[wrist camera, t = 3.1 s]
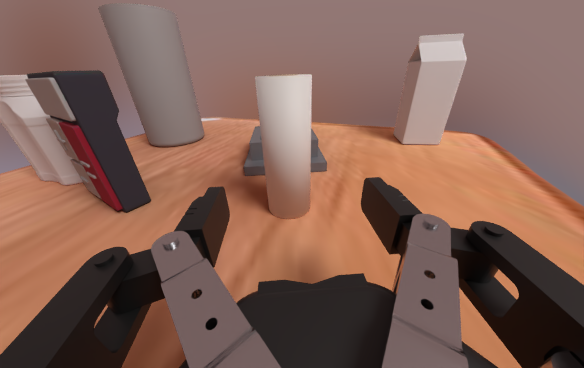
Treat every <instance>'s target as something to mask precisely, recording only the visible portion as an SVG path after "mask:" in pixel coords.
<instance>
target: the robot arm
mask: <svg viewBox="0 0 584 368" xmlns="http://www.w3.org/2000/svg"><path fill="white" fill-rule="evenodd" d="M361 208H362V211H363V213H364V214H365V216H366V217H367V219H368V221H369V222H370V224H371V226H372V227H373V229H374V230H375V232H376V234H377V235H378V237H379V239H380V240H381V242H382V243H383V245H384V247H385V248H386V250H387V251H388V253H389V254H400V256H401V257H400V260H399V264H398V268H397V272H396V276H395V280H394V284H393V288H392V291H391V290H389V289H387V288H385V287H382V286H380V285H377V284H374V283H370V282H367V281H366V279H365V276H364V274H363V273H362V274H350V275H338V276H335V277H332V278H329V279H326V280H323V281H320V282H318V283H314V284H308V283H302V282H295V281H289V280H277V281H265V282H259V284H258V291H256V292H253V293H251V294H249V295H247V296H246V297H244V298H242V299H241V300H239V301H238V302H237V303H236V302H235V301H234V299H233V298H232V296H231V295H230V293H229V292H228V290H227V289H226V287H225V286H224V284H223V282H222V281H221V279H220V278H219V276H218V275H217V273H216V272H215V270H214V269H213V268H214V267H215V264H216V260H217V257H218V254H219V251H220V248H221V244H222V241H223V238H224V235H225V232H226V228H227V225H228V222H229V217H230V213H229V207H228V202H227V198H226V193H225V189H224V187H209V188H208V189H207V191H206V193H205V195H204V196H203V197H199V198H197V199H196V200H195V201H193V202H192V204H191V205H190V207H189V208H188V210H187V211H186V213H185V215H184V216H183V218H182V219H181V221H180V222H179V224H178V226H177V227H176V229H175V230H174V232H170V233H168V234H165V235H163V236H162V237H160V238H159V239H157V240H156V241H155V242H154V244H153V245H152V247H151V249H149V250H145V251H142V252H138V253H135V254H131V255H130V254H129V252H128V251H127V249H126V248H124V247H113V248H109V249H107V250H104V251H102V252H100V253H98V254H96V255H94V256H93V257H91V258H90V259H89V260H88V261H87V262H86V263H85V264H84V265H83V266H82V267H81V268H80V269H79V270H78V271H77V272H76V273H75V274H74V275H73V277H72V278H71V279H70V280H69V281H68V282H67V283H66V284H65V285H64V286H63V287H62V288H61V290H60V291H59V292H58V293H57V294H56V295H55V296H54V297H53V298H52V299H51V300H50V302H49V303H48V304H47V305H46V306H45V307H44V308H43V309H42V310H41V311H40V312H39V313H38V315H37V316H36V317H35V318H34V319H33V320H32V321H31V322H30V323H29V324H28V325H27V327H26V328H25V329H24V330H23V331H22V332H21V333H20V334H19V335H18V336H17V337H16V338H15V340H14V341H13V342H12V343H11V344H10V345H9V346H8V347H7V348H6V349H5V350H4V352H3V353H2V354H1V355H0V368H121V367H122V365H123V363H124V360H125V358H126V356H127V354H128V352H129V350H130V348H131V346H132V344H133V341H134V339H135V337H136V335H137V333H138V331H139V329H140V327H141V325H142V322H143V320H144V318H145V316H146V314H147V312H148V310H149V308H150V306H151V303H153V302H156V301H158V300H161V299H164V298H166V301H167V304H168V307H169V310H170V313H171V316H172V319H173V322H174V325H175V328H176V331H177V333H178V336H179V339H180V342H181V345H182V348H183V351H184V354H185V357H186V360H185V361H184V362H183V363H182V365H181V366H180V367H179V368H498V367H497V366H495V365H494V364H492V363H491V362H490V361H488V360H487V359H486V358H484V357H483V356H481V355H480V354H479V353H477V352H476V351H475V350H473V349H472V348H470V347H469V346H468V345H466V344H465V343H464V342H462V341H461V320H460V299H459V287H460V289H461V290H462V291H463V292H464V294H465V295H466V296H467V298H468V299H469V300H470V301H471V303H472V304H473V305H474V307H475V308H476V309H477V310H478V312H479V313H480V314H481V316H482V317H483V318H484V319H485V321H486V322H487V323H488V325H489V326H490V327H491V328H492V330H493V331H494V332H495V333H496V335H497V336H498V337H499V339H500V340H501V341H502V342H503V344H504V345H505V346H506V348H507V349H508V350H509V351H510V353H511V354H512V355H513V357H514V358H515V359H516V360H517V362H518V363H519V364H520V366H521V367H522V368H584V285H583V284H581V283H580V282H579V281H577V280H576V279H574V278H573V277H572V276H570V275H569V274H568V273H566V272H565V271H564V270H562V269H561V268H559V267H558V266H557V265H555V264H554V263H553V262H551V261H550V260H549V259H547V258H546V257H544V256H543V255H542V254H540V253H539V252H538V251H536V250H535V249H534V248H532V247H531V246H529V245H528V244H527V243H525V242H524V241H523V240H521V239H520V238H519V237H517V236H516V235H514V234H513V233H512V232H510V231H509V230H507V229H505V228H504V227H502V226H499V225H497V224H494V223H490V222H485V221H476V222H473V223H472V224H471V226H470V228H469V230H464V229H456V228H450V226H449V225H448V223H447V222H445V221H444V220H442V219H441V218H439V217H436V216H433V215H429V214H423V213H422V212H420V211H419V210H418V209H417V208H416V207H415V206H414V205H413V204H412V203H411V202H410V201H409V200H408V199H407V198H406V197H405V196H403V194H402V193H401V192H400V191H399V190H398V189H396V188H394V187H392V186H390V185H387V184H386V183H385V182H384V181H383V180H382V179H381V178H380V177H375V178H366V179H365V180H364V185H363V192H362V198H361ZM498 269H499V270H500V271H501V272H502V273H504V274H505V275H506V276H507V277H508V278H509V279H510V280H511V281H512V282H513V283H514V284H515V286H516V287H517V289H518V292H519V297H518V299H517V300H516V299H515V298H514V297H513V296H512V295H511V294H510V293H509V292H508V291H507V290H506V289H505V288H504V286H503V285H502V284H501V283H500V282H499V281H498V280H497V279H496V278H495V277H494V275H495V274H496V272H497V271H498ZM106 304H107V305H108V308H107V309H106V311H105V313H104V314H103V316H102V317H101V319H100V320H99V322H98V323H97V325H96V326H95V328H94V325H95V322H96V320H97V318H98V316H99V315H100V313H101V312H102V310H103V309H104V307H105V306H106Z"/></svg>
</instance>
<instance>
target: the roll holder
mask: <svg viewBox="0 0 584 368" xmlns="http://www.w3.org/2000/svg"><path fill="white" fill-rule="evenodd" d="M249 144H250V150H249V153H248V156H247V159H246V162H245V165H244V172H245V176H252V175H265V167H264V158H263V148H262V139H261V130H260V126H257V127H255V129H254V132H253V135H252V137H251V140H250V143H249ZM326 170H327V162H326V160H325V158H324V156H323V155H322V153H321V151H320V149H319V147H318V138H317V137H316V135H315V133H314V132H313V130H312V129H311V172H318V171H326Z"/></svg>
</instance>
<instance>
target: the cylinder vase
mask: <svg viewBox="0 0 584 368" xmlns="http://www.w3.org/2000/svg"><path fill="white" fill-rule="evenodd" d="M98 9H99V12H100V14H101V17H102V20H103V22H104V25H105V27H106V30H107V33H108V35H109V38H110V41H111V43H112V46H113V49H114V51H115V54H116V56H117V59H118V62H119V64H120V67H121V70H122V72H123V75H124V78H125V80H126V83H127V85H128V88H129V91H130V93H131V96H132V98H133V101H134V104H135V107H136V109H137V111H138V114H139V117H140V120H141V122H142V125H143V127H144V130H145V133H146V135H147V138H148V141H149V143H150V144H152V145H154V146H158V147H173V146H180V145H185V144H190V143H193V142H196V141H198V140H200V139H202V138H203V136H204V130H203V125H202V121H201V117H200V113H199V109H198V105H197V101H196V96H195V92H194V89H193V85H192V80H191V76H190V71H189V67H188V63H187V59H186V55H185V51H184V46H183V43H182V38H181V34H180V30H179V26H178V22H177V17H176V14H175V13H174V12H172V11H169V10H167V9H163V8H159V7H154V6H148V5H138V4H108V5H102V6H100V7H99V8H98Z"/></svg>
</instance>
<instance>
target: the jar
mask: <svg viewBox="0 0 584 368" xmlns="http://www.w3.org/2000/svg"><path fill="white" fill-rule="evenodd" d="M25 79H28V77H27V75H7V76H0V123H1V124H2V125H3V126H4V127H5V129H6V130H7V131H8V133H9V134H10V136H11V137H12V138H13V140H14V141H15V143H16V144H17V146H18V147H19V148H20V150H21V151H22V153H23V154H24V155H25V157H26V158H27V160H28V161H29V162H30V164H31V165H32V167H33V168H34V170H35V171H36V174H37V175H38V177H39V178H40V179H41V180H43V181H56V182H59V183H60V184H62V185H72V184H78V183H82V182H83V181H82V180H81V179H80V176H79V174H78V173H77V171H76V169H75V168H74V166H73V164H72V162H71V161H70V160H71V159H73V158H71V157H69V156H68V155H67V154H66V152H65V151H64V149H63V147H62V146H61V144H60V142H59V141H58V140H57V139H56V138H57V137H56V136H55V134H54V132H53V131H52V129H51V127H50V126H49V124H48V122H47V120H46V118H51V117H50V115H47V114H45V113H44V111H43V110H42V108H41V106H40V104H39V103H38V101H37V99H36V98H35V96H34V94H33V93H32V91H31V89H30V88H29V86H28V84H27V82H26V80H25Z"/></svg>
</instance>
